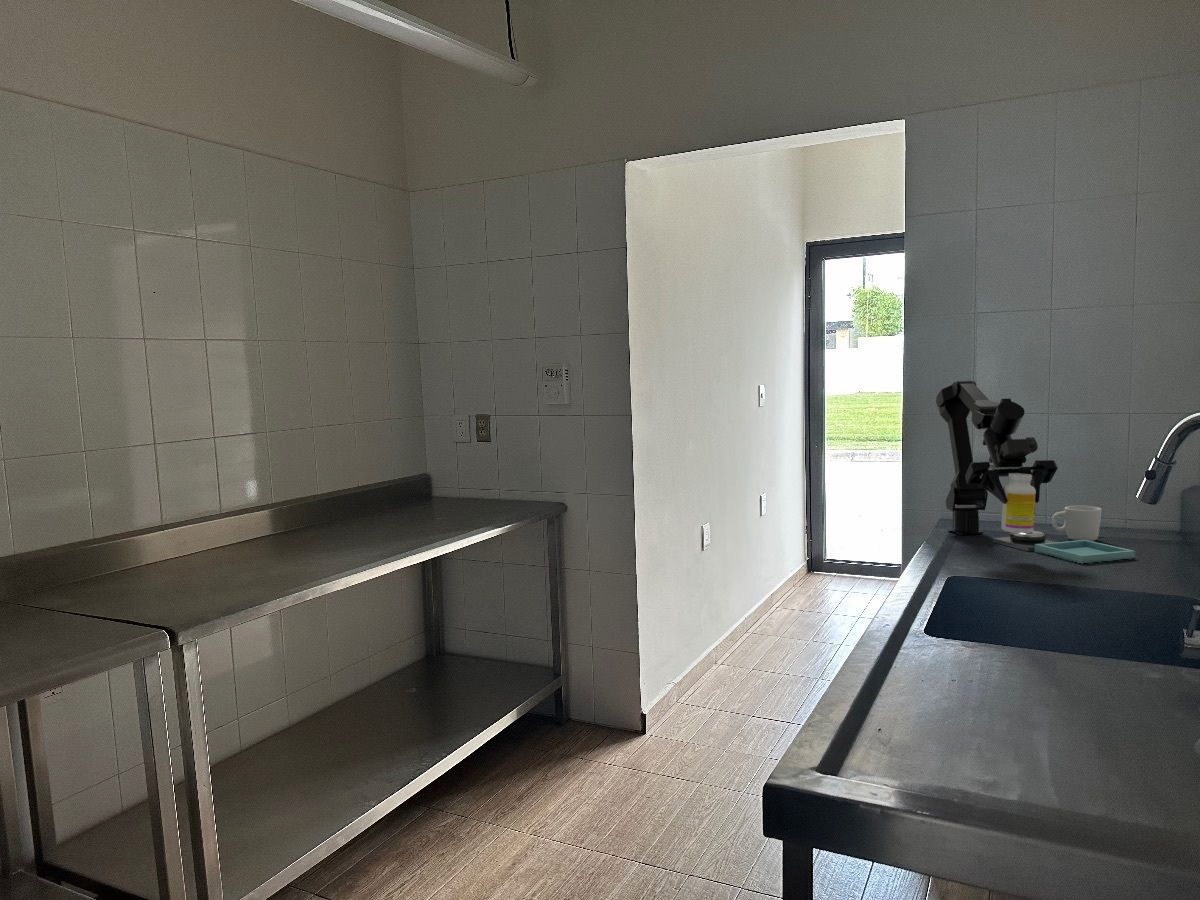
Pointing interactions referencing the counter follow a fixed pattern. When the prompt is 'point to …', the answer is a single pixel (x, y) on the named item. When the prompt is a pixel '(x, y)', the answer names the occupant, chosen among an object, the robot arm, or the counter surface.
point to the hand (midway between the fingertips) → (1021, 502)
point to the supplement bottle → (1019, 504)
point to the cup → (1080, 522)
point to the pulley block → (1023, 540)
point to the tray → (1084, 551)
